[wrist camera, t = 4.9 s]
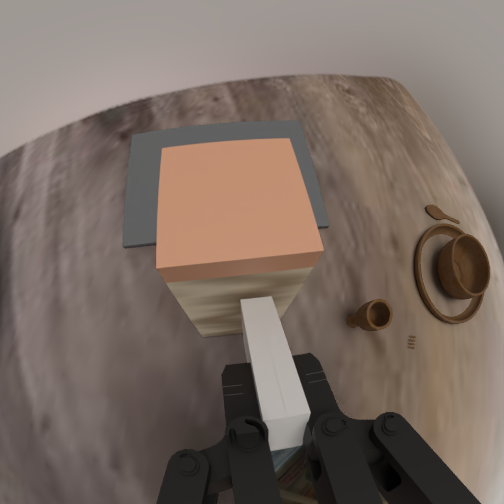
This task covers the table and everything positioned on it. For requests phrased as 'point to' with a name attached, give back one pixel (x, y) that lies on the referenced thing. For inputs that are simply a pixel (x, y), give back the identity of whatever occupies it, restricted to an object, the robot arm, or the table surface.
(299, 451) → the beverage carton
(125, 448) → the table surface
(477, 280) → the place setting
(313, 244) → the birch block
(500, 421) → the table surface
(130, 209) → the rubber mat
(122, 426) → the table surface
